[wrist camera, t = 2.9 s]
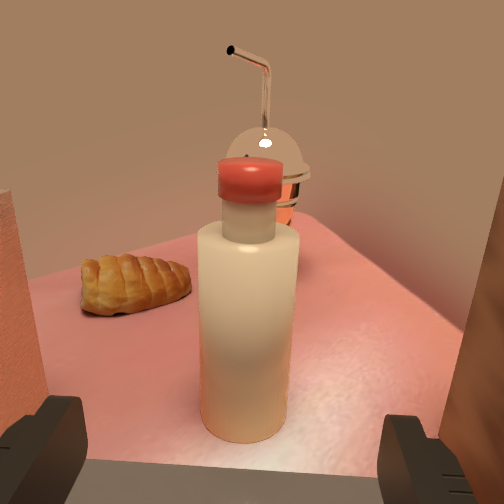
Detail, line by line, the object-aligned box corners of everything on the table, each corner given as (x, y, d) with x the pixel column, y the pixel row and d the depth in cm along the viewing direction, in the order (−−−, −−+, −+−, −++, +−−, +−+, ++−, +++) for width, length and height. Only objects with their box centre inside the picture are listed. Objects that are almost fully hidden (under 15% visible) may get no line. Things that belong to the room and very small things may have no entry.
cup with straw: (320, 279, 42) (343, 50, 34) (236, 300, 38) (241, 44, 30) (273, 249, 49) (283, 52, 41) (197, 263, 45) (193, 47, 37)
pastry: (182, 274, 43) (181, 237, 41) (200, 307, 37) (199, 267, 36) (79, 287, 40) (74, 248, 38) (82, 326, 34) (76, 282, 32)
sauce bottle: (183, 407, 26) (174, 160, 20) (245, 371, 29) (252, 149, 24) (241, 459, 23) (249, 181, 17) (303, 411, 26) (327, 165, 20)
